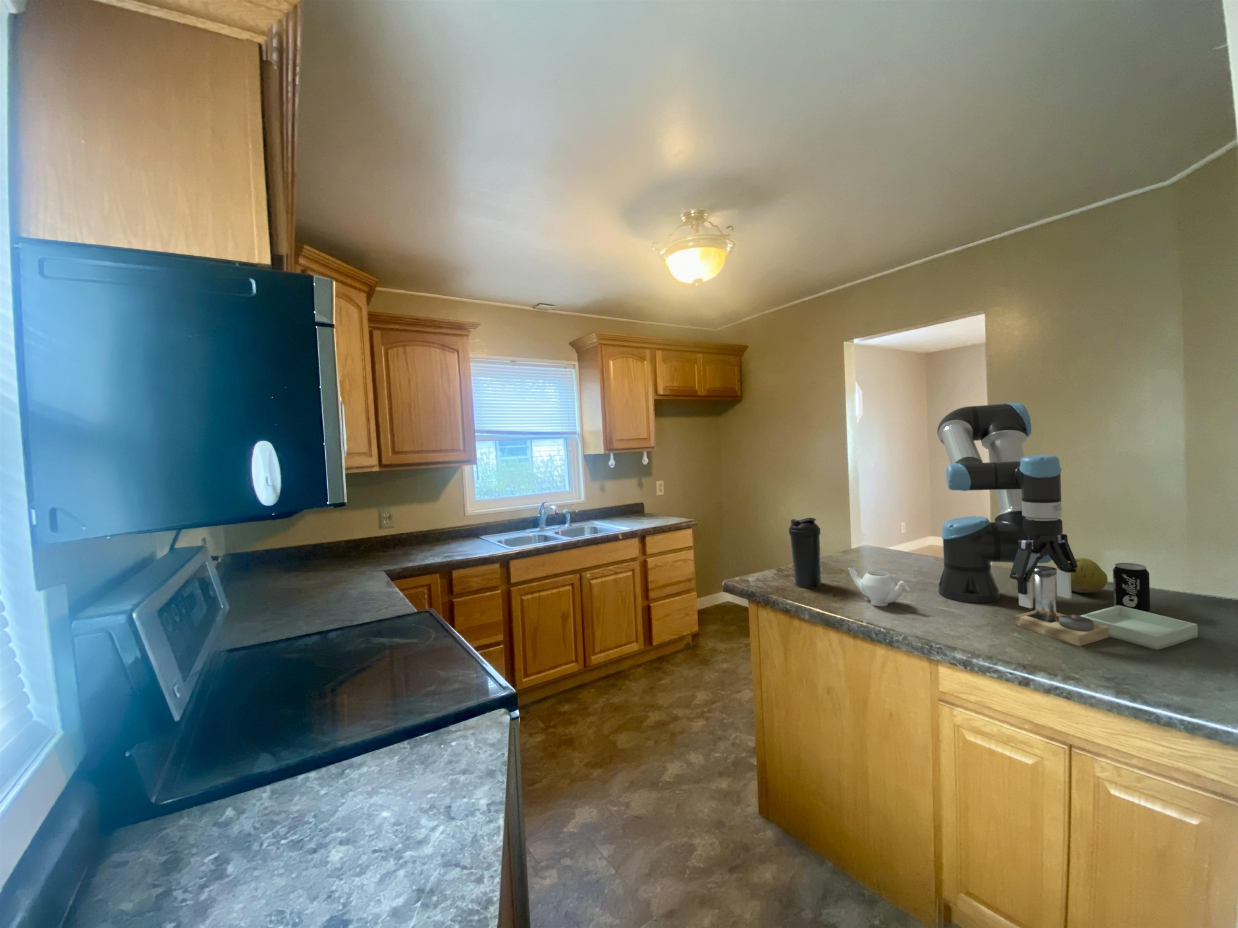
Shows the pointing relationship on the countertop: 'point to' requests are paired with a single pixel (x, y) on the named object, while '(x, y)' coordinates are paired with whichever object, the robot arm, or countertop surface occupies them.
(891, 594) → the teapot
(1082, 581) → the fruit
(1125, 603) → the beverage can
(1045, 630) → the block
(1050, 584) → the pin
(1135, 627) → the tray
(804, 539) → the water bottle
